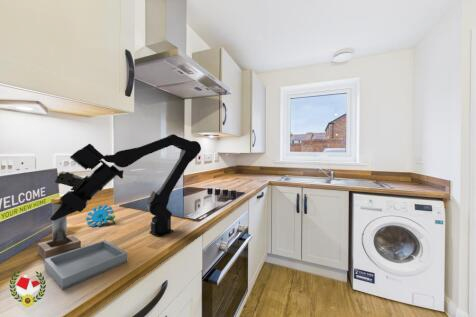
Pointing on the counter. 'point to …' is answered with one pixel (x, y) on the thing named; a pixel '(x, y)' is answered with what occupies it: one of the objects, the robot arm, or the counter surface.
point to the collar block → (58, 247)
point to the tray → (84, 263)
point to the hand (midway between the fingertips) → (53, 218)
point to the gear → (100, 216)
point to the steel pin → (58, 221)
